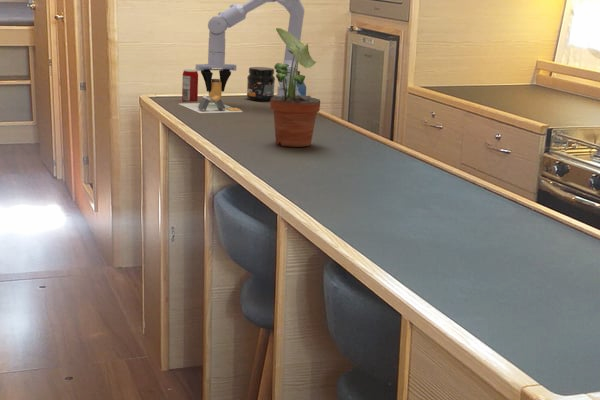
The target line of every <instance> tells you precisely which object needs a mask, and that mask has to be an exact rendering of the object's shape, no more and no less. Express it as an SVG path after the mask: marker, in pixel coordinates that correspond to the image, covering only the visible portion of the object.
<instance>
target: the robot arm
mask: <svg viewBox="0 0 600 400" xmlns="http://www.w3.org/2000/svg"><path fill="white" fill-rule="evenodd" d="M275 2H277V3H278V4H279V5H282V6H283V7H284V8H285V10H286V11H287V12H288V13H289V21H288V27H287V32H289V33H290V34H292V35H293V36H294V37H295V38H297V39H298V40H299V41H300V42H301V38H302V30H303V24H304V16H305V7H304V5H303V2H302V1H301V0H248V1H247V2H245V3H243V4H242V5H241V4H239V3H236V4H234V3H232V4H231V5H229V7H228V9H225V10H224V11H220V12H217V16H212V17H211V18H210V19H209V21H208V23H207V29H208V30H209V33H208V49H207V50H208V51H207V55H208V56H207V63H205V64H204V63H202V64H201V63H200V64H197V63H196V64H195V70H197V72H200V74H201V75H202V78H203V80H204V84H205V88H206V92H208V93H209V92H211V81H212V79H213V74H214V73H213V72H212V71H218V73H219V79H220V81H221V82H222V92H225V88H226V85H227V83H228V80H229V78H230V76H231V75H232V71H237V64H231V63H230V64H225V63H226V60H225V59H226V31H227V30H228V29H230V28H232V27H234V26H235V25H237V24H239V23H241V22H243V21H244V20H245V19H246V16H247V14H248V13H249V12H252V11H253V10H255V9H256V8H258V7H261V6H262V5H264V4H266V3H275ZM284 50H285V51H284V57H283V63H282V65H283V64H288V65H289V66H288V67H287V69H288V70H287V71H288V72H290V71H291V66H292V61H293V56H294V62H293V69H292V75H293V71H294V67H295V64H296V61H297V59H296V57H295V55H294V54H291V53H290V52H289V51H288V50H290V49H289V48H288V47H287V45H286V44H285V49H284ZM290 51H292V50H290ZM297 62H298V61H297ZM296 71H297V64H296V68H295V73H294V75H295V76H296ZM297 75H298V73H297ZM285 78H286V81H287V95H288V86H289V78H290V73H287V76H286V77H285ZM291 81H292V78H291ZM277 82H278V85H279V86H277V90H276V91H277V93H276V96H284V90H283V80H282V82H279V81H278V80H277ZM284 83H285V80H284ZM293 83H294V80H293ZM296 83H297V81H296ZM285 89H286V84H285ZM295 95H301V94H300V93H299V92H298V87H297V85H296V91H295Z"/></svg>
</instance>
